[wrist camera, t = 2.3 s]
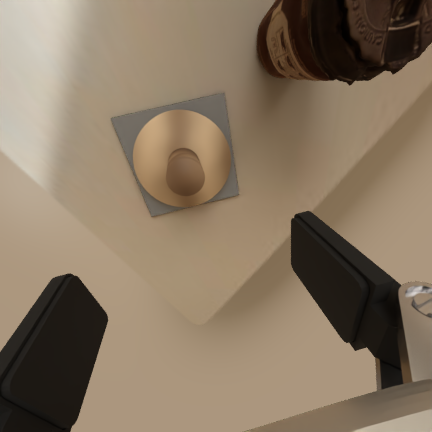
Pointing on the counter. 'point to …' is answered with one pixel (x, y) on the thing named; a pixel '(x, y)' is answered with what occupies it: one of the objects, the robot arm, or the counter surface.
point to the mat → (205, 106)
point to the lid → (181, 158)
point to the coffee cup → (342, 38)
